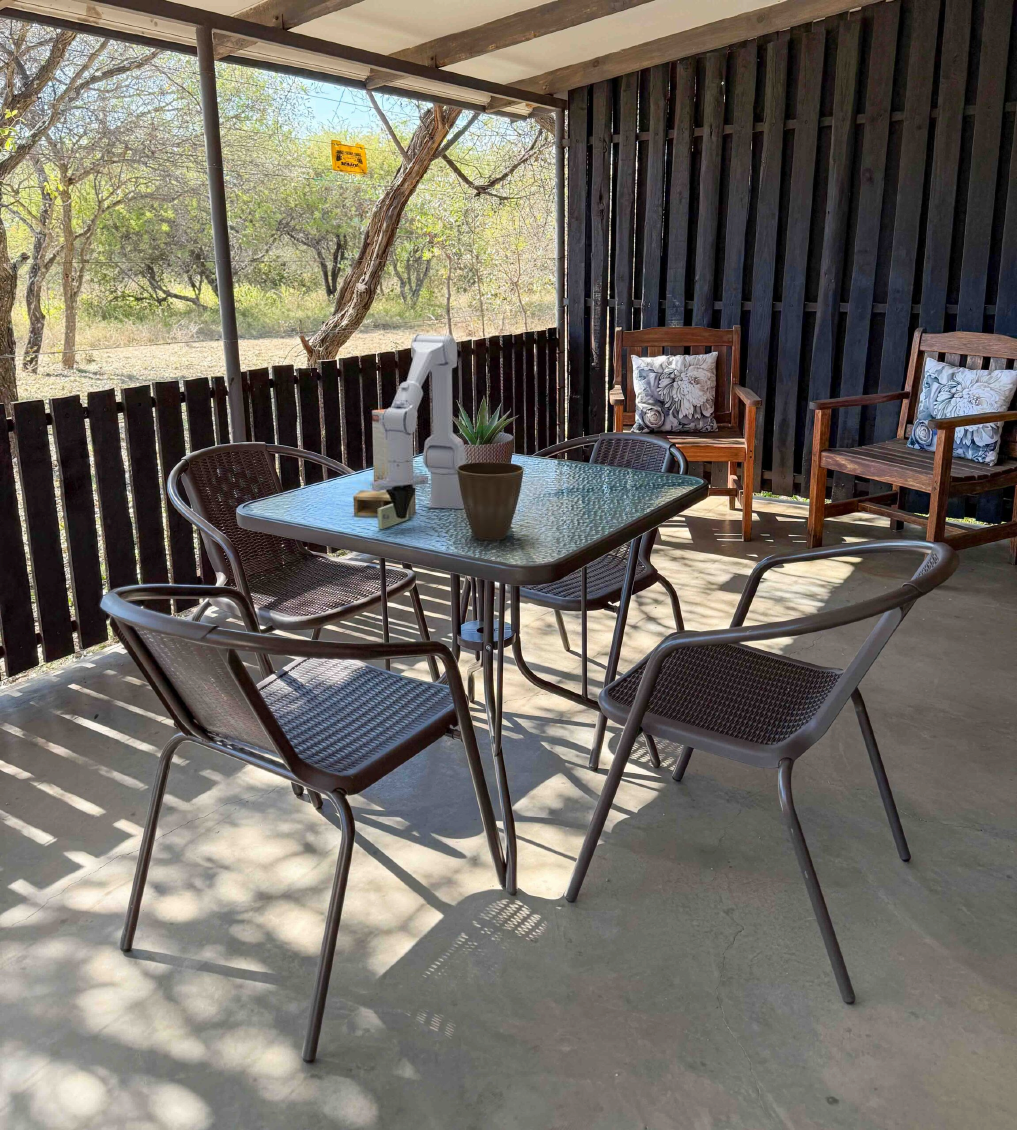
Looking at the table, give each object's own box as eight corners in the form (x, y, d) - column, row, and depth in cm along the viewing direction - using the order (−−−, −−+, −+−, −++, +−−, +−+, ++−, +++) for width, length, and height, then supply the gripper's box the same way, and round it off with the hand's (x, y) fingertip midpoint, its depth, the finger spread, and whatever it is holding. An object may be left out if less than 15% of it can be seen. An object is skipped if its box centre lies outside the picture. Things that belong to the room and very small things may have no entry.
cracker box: (415, 488, 268) (413, 413, 262) (395, 491, 265) (394, 415, 259) (391, 480, 279) (389, 408, 273) (373, 482, 276) (370, 409, 270)
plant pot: (531, 543, 213) (532, 472, 208) (466, 547, 208) (466, 475, 204) (512, 527, 226) (512, 460, 222) (450, 531, 222) (450, 463, 218)
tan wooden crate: (415, 511, 241) (415, 492, 239) (409, 518, 234) (409, 498, 233) (361, 509, 242) (360, 490, 241) (354, 516, 236) (353, 496, 234)
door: (408, 517, 234) (407, 497, 233) (415, 518, 233) (415, 498, 232) (377, 529, 223) (377, 508, 221) (385, 530, 222) (384, 509, 220)
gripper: (415, 454, 227) (416, 510, 231) (363, 461, 218) (365, 519, 222) (433, 458, 222) (434, 515, 226) (380, 465, 213) (382, 524, 217)
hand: (401, 517), depth 223 cm, fingers closed
